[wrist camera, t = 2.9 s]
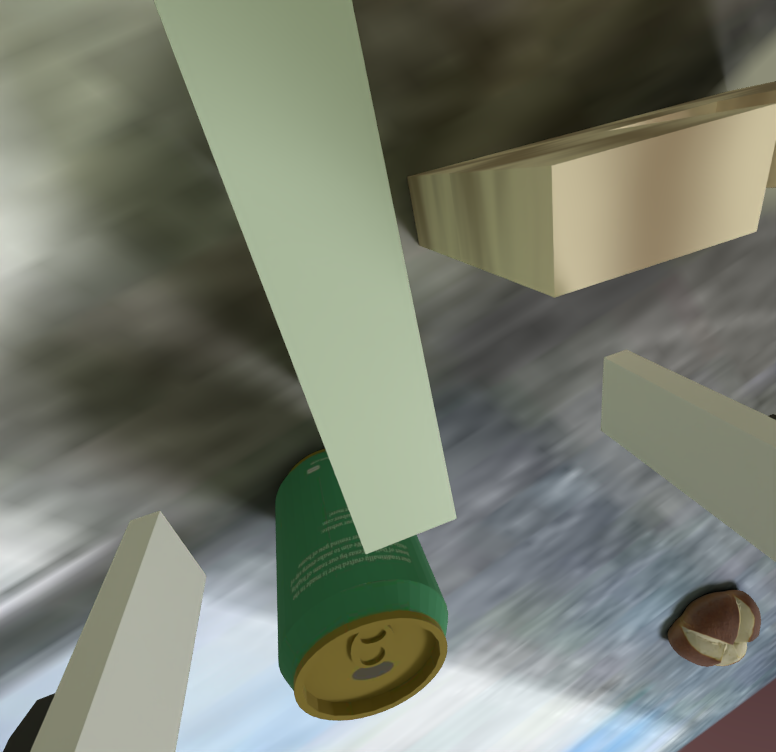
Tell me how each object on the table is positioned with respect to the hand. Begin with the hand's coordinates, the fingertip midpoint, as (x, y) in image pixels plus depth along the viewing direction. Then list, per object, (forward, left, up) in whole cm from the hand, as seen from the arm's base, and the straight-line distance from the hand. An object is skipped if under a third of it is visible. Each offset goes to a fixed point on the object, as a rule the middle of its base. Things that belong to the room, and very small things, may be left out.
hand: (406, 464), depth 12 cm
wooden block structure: (+8, +15, -13) cm, 21 cm away
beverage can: (+5, -10, -13) cm, 18 cm away
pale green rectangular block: (-4, +3, -13) cm, 14 cm away
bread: (+62, -13, -13) cm, 65 cm away
